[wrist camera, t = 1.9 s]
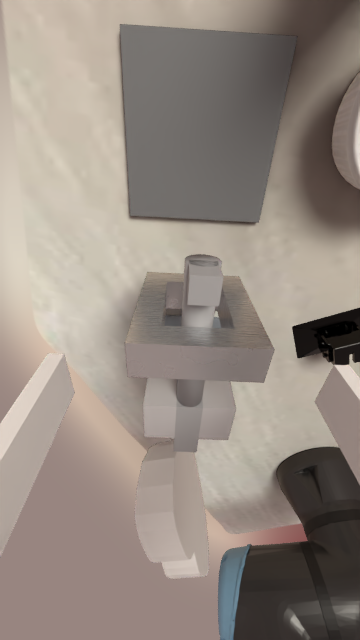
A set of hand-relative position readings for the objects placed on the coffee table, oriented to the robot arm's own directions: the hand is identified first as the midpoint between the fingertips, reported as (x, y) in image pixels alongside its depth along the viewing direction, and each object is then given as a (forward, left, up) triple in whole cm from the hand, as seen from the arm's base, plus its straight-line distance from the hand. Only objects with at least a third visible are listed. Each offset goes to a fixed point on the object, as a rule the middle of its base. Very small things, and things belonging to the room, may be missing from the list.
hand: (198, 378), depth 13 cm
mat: (+11, 0, -16) cm, 19 cm away
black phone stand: (-8, -18, -17) cm, 26 cm away
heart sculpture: (-23, 0, -16) cm, 28 cm away
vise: (-6, 0, -16) cm, 17 cm away
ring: (0, 0, -11) cm, 11 cm away
